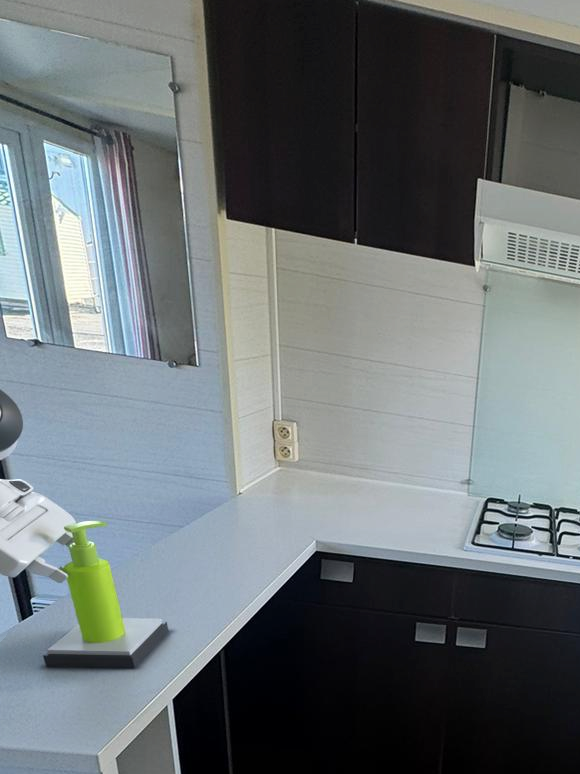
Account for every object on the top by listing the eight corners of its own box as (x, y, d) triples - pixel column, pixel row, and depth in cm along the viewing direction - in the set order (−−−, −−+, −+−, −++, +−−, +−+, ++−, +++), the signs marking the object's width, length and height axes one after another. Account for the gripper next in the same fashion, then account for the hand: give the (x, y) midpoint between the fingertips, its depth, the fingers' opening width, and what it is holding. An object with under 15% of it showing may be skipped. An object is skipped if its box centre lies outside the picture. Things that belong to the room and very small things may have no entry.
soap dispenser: (139, 631, 111) (115, 523, 102) (96, 646, 105) (67, 533, 96) (118, 621, 112) (92, 515, 104) (74, 636, 107) (44, 524, 98)
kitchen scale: (46, 667, 103) (41, 651, 102) (89, 629, 114) (86, 615, 113) (134, 668, 106) (131, 653, 104) (168, 631, 117) (166, 617, 116)
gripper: (-38, 516, 86) (65, 580, 94) (28, 477, 104) (111, 533, 111) (-70, 546, 87) (36, 607, 94) (2, 502, 104) (86, 556, 111)
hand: (77, 567), depth 103 cm, fingers open, 8 cm apart
